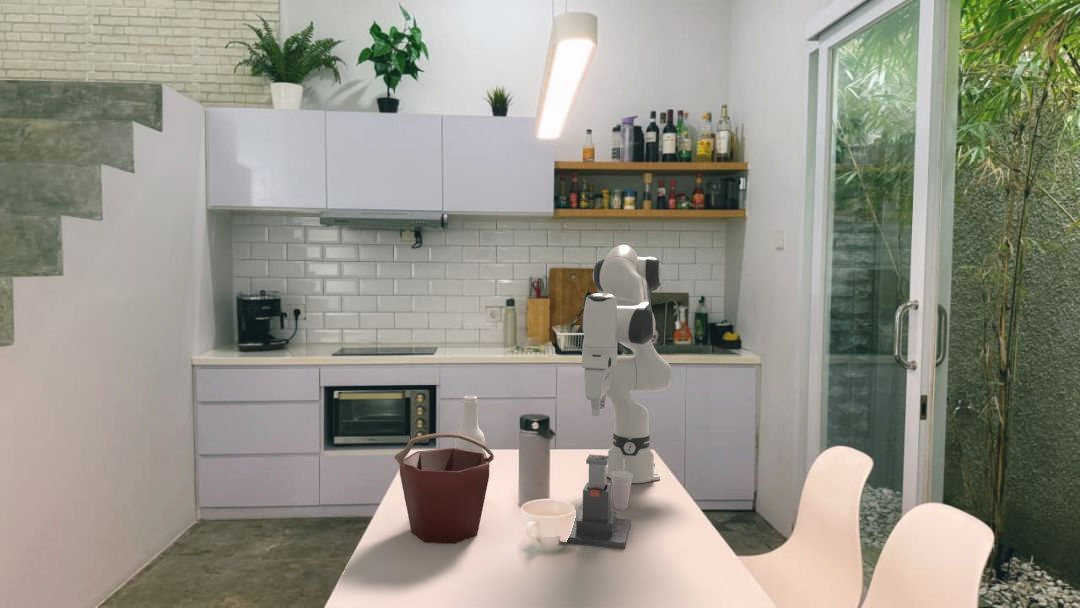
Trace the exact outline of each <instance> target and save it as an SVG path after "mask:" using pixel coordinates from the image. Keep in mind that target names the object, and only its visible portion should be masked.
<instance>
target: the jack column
mask: <svg viewBox="0 0 1080 608" xmlns="http://www.w3.org/2000/svg"><path fill="white" fill-rule="evenodd" d="M585 462H586V463H585V464H587V465H588V490H601V491H606V484H607V476H606V470H607V464H608V462H609V456H608V455H601V454H591V453H590V454H589V455H588V456H587V458H586V459H585Z"/></svg>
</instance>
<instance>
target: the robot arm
mask: <svg viewBox="0 0 1080 608" xmlns="http://www.w3.org/2000/svg"><path fill="white" fill-rule="evenodd" d="M663 279H664V269H663V266H662V264H661V260H659V259H658V258H656V257H653V256H647V257H646V256H645V257H643V256H638V254H637V252H636V251H635V249H633V248H632V247H630V246H629V245H626V244H622V245H617V246H614V247H613V248H612V249H611V250H609V252H608V253H607V255H606V256H605V258H603V259H602V260H599V261H598V262H597V263H595V265H594V268H593V271H592V280H593V282H594V286H595V288H596V289H597V290H598V291H600V292H595V293H591V294H589V295H587V296H586V298H585V301H584V306H583V313H582V316H581V332H582V333H583V335H584V336H583V341H582V351H581V353H582V354H581V355H582V356H581V359H582V360H581V368H582V369H584V370H583V371H584V373H583V375H584V393H585V397H586V400H589V401H590V405H591V415H592V416H594V417H599V416H600V414H601V410H602V409H603V410H604V409H605V408H606V399H608V400H609V402H610V404H611V407H612V410H613V418H614V419H613V420H614V432H613V435H612V447H611V448H610V449H609V450H608V452H607V456H609V462H608V464H607V470H606V478H609V479H611V480H612V478H611V477H610V476H611V472H613V471H623V459H625V471H628V472H631V473H632V474H633V478H632V480H631V484H643V483H644V484H645V483H647V482H648V483H649V482H651V481H659V480H661V477H660V476H661V475H660V474H659V472H658V470H657V468H656V463H655V453H653V451H652V449H650V445H651V435H650V434H649V430H650V427H649V426H650V413H649V410H648V409H647V407H646V406H644V404H643V405H642V404H641V403H639V402H637V401H635V400H634V399H632V393H655V392H661V391H664V390H667V389H668V388H670V386H671V383H672V381H673V378H674V377H673V375H674V373H673V370H672V367H671V365H670V363H668V361H667V360H666V359H664V358H663V357H662V356H661V355H660V354H659V353H658V352H657V350H656V348H655V346H654V344H653V341H652V339H653V338H654V335H655V334H656V333H655V331H656V319H655V315H654V312H653V309H652V303H651V302H652V301H651V295H652V294H653V292H655V291H656V290H657V289H659V288H660V287H661V284H662V281H663ZM618 343H619V344H620V345H622V346H624V347H625V348H628V349H630V351H631V352H632V353H633V357H618Z"/></svg>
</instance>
